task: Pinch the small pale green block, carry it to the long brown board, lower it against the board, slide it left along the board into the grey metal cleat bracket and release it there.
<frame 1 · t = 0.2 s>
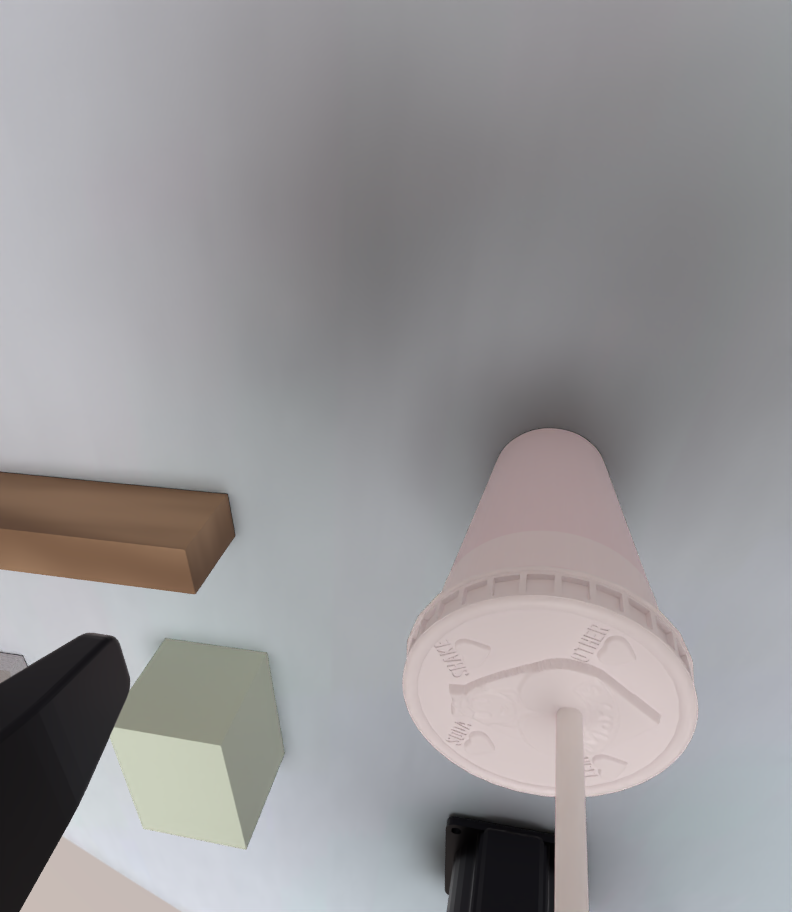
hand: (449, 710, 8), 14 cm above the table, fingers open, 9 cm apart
pale green block: (228, 696, 33), on the table
smoothie: (549, 473, 23), on the table
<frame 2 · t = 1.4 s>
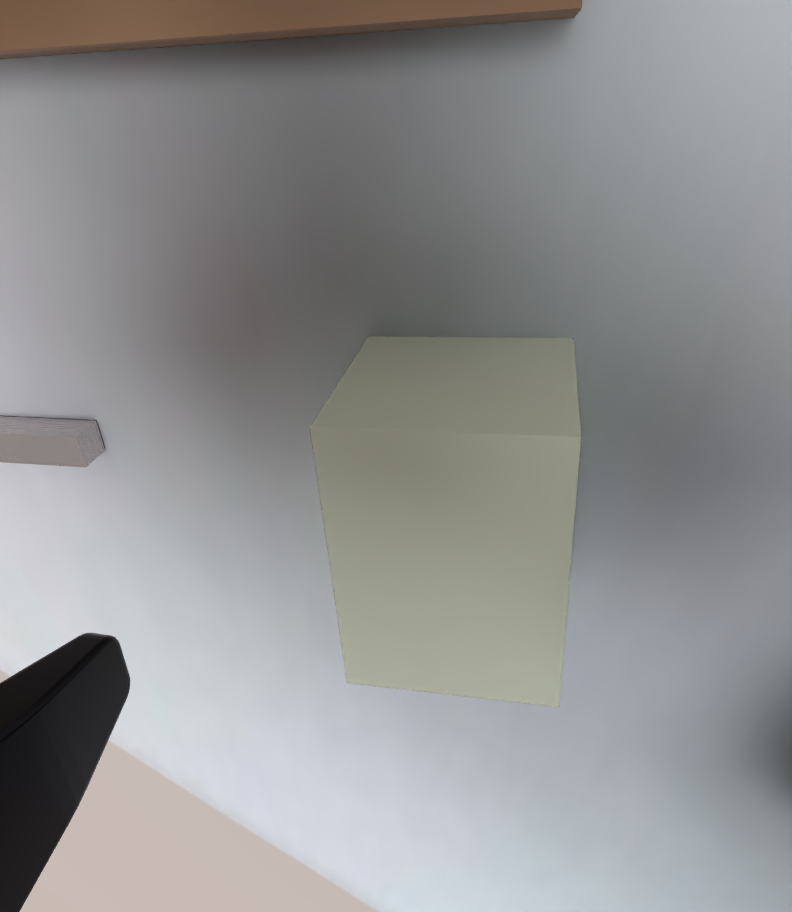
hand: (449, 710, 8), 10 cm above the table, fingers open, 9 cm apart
long brown board: (5, 3, 15), on the table
pale green block: (469, 458, 18), on the table
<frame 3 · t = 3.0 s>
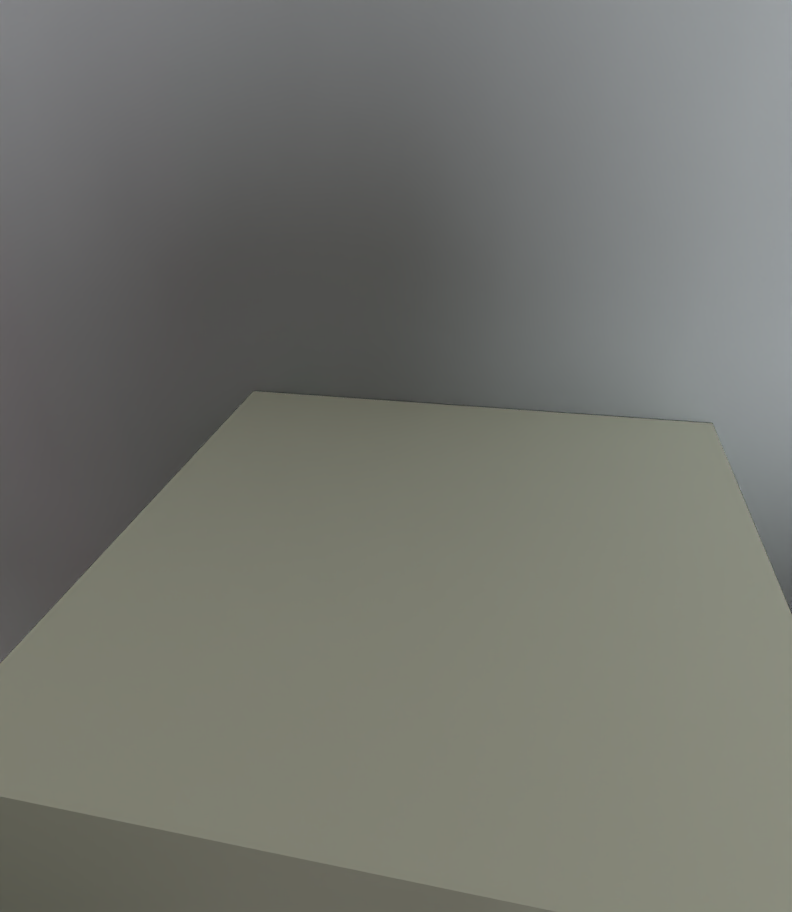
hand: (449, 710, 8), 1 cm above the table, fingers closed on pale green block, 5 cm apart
pale green block: (460, 639, 9), on the table, touching gripper
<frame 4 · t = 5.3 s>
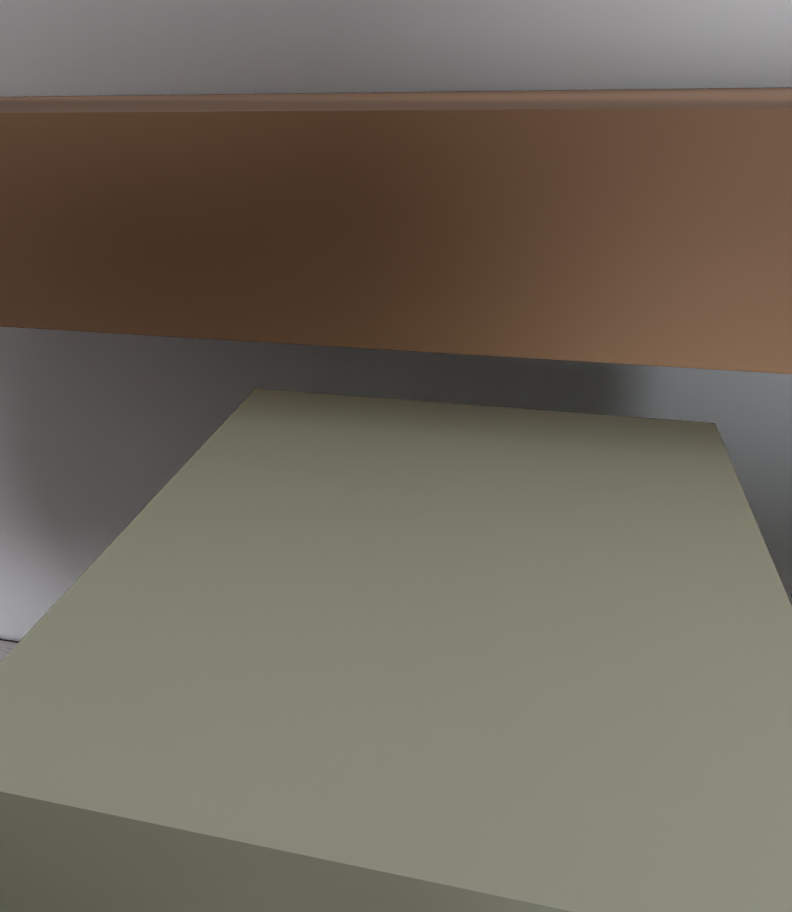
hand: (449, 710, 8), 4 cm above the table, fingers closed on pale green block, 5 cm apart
long brown board: (269, 176, 9), on the table
pale green block: (460, 638, 9), point 3 cm above the table, touching gripper
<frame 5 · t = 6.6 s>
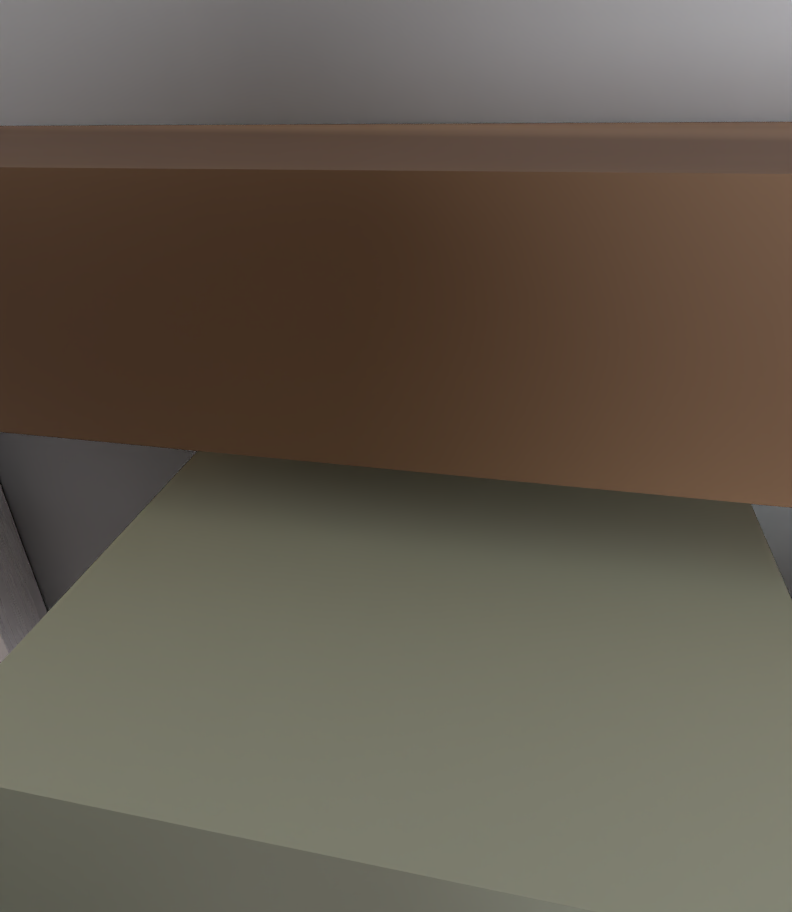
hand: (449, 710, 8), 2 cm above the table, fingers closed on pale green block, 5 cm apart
long brown board: (731, 232, 7), on the table
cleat: (249, 605, 11), on the table
pale green block: (461, 637, 9), point 1 cm above the table, touching gripper
when the fingers open (1 cm above the table, at t = 7.7 s): pale green block stays where it is, on the table.
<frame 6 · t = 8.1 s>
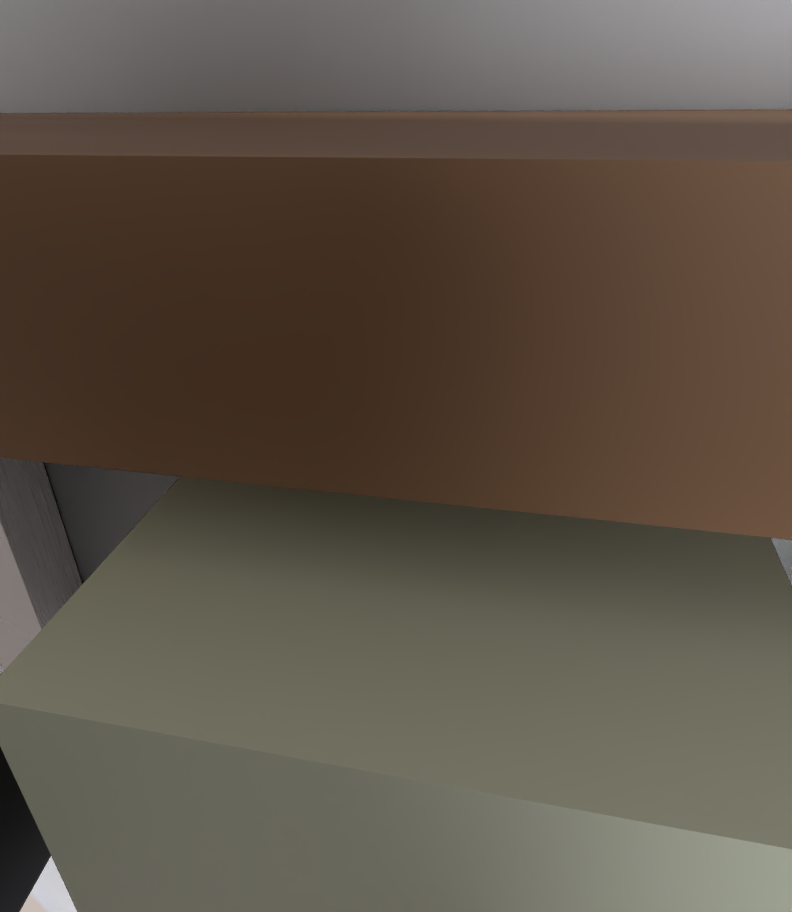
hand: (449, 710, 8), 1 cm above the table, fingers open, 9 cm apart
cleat: (326, 635, 10), on the table
pale green block: (467, 613, 10), on the table
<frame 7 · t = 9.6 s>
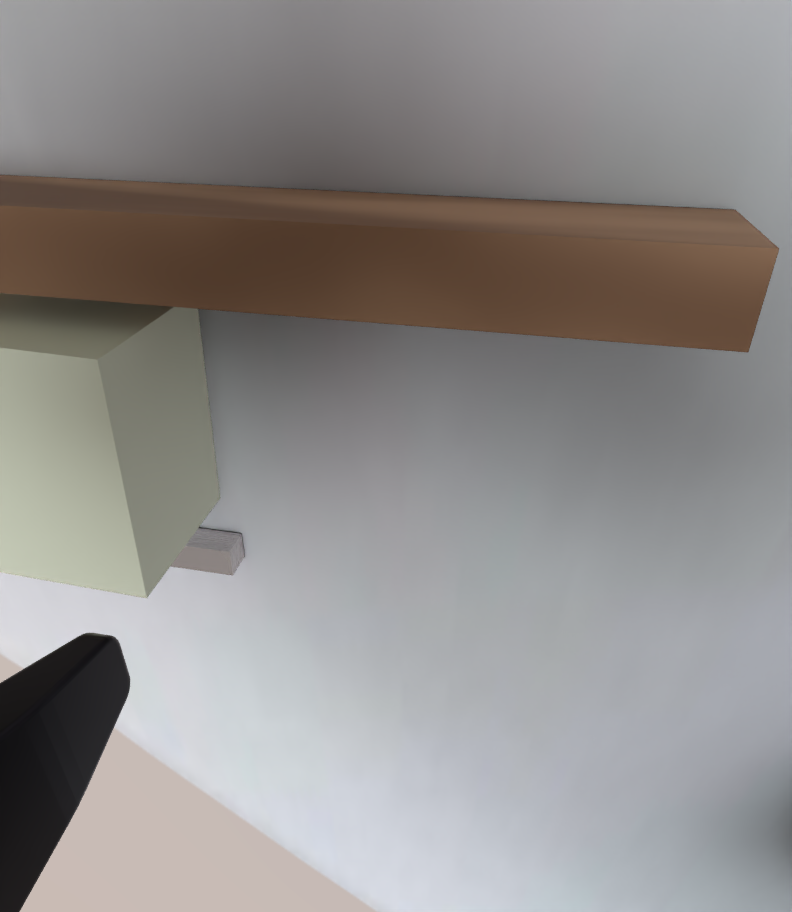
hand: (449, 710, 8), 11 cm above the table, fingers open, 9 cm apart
long brown board: (235, 226, 18), on the table
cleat: (79, 409, 22), on the table
pale green block: (135, 392, 21), on the table
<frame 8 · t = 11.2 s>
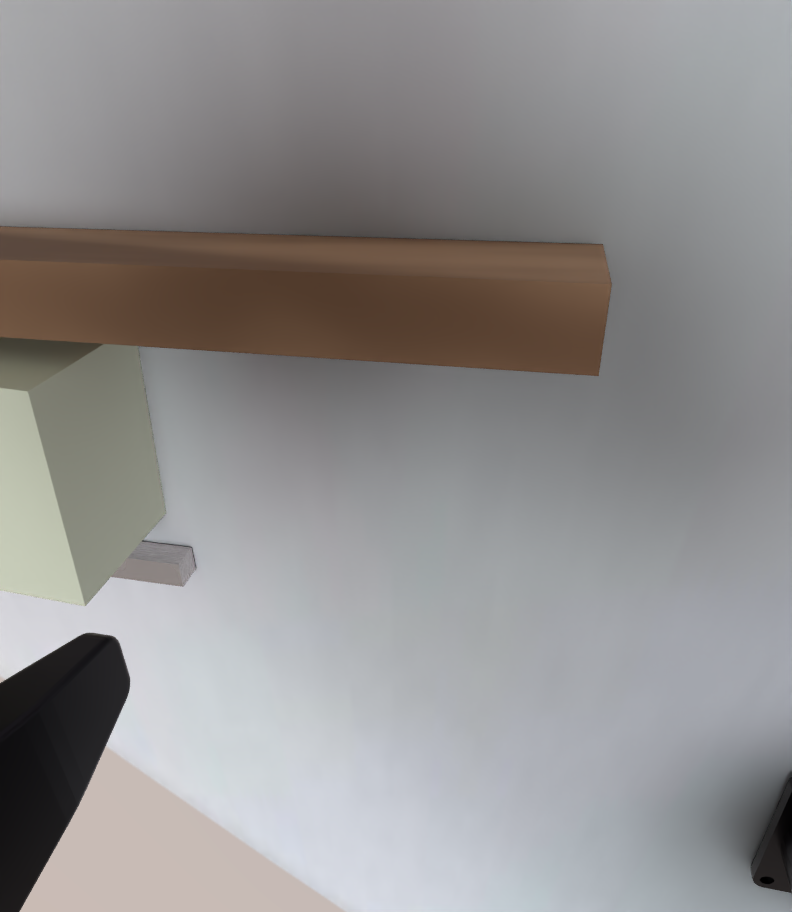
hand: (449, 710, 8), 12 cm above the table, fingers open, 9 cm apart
long brown board: (163, 267, 19), on the table
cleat: (38, 434, 23), on the table
pale green block: (85, 415, 23), on the table
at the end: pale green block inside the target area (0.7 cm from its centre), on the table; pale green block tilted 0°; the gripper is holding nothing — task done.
